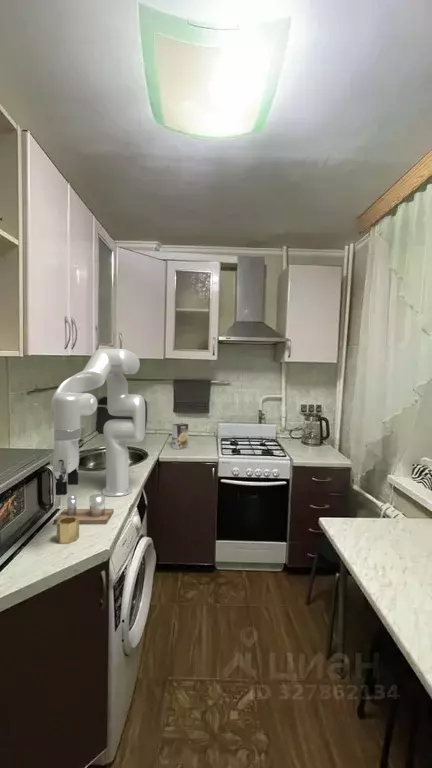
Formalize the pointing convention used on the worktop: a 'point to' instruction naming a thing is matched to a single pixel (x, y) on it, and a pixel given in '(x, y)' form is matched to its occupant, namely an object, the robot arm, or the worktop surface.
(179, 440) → the coffee box
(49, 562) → the worktop surface
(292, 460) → the worktop surface
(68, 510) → the pair of light bulbs
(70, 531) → the brass coupling
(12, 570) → the worktop surface
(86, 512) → the pipe board
